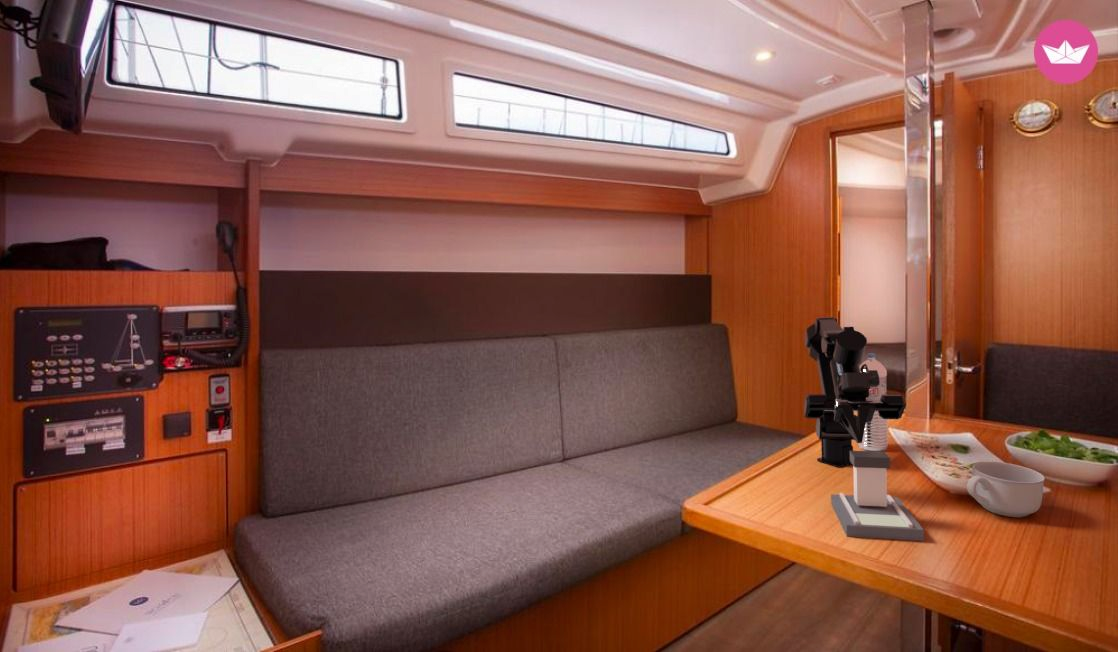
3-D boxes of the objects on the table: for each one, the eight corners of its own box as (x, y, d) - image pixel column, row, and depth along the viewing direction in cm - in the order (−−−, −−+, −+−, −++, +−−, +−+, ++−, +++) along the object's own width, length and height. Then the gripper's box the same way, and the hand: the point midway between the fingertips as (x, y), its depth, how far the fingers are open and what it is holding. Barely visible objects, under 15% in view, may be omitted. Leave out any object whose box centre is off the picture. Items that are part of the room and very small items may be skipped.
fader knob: (850, 498, 111) (849, 450, 111) (884, 499, 110) (884, 451, 109) (855, 506, 108) (854, 456, 107) (890, 507, 106) (890, 457, 105)
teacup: (1011, 498, 113) (1011, 459, 113) (1060, 521, 102) (1061, 477, 102) (942, 503, 113) (942, 463, 112) (985, 526, 102) (985, 482, 101)
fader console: (831, 504, 115) (830, 491, 115) (897, 507, 112) (897, 494, 112) (846, 536, 101) (846, 522, 101) (923, 541, 98) (923, 526, 97)
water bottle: (852, 447, 152) (850, 354, 150) (869, 443, 155) (868, 351, 153) (876, 453, 146) (874, 356, 144) (893, 449, 148) (892, 353, 147)
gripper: (804, 357, 122) (813, 420, 112) (902, 355, 117) (921, 422, 107) (800, 387, 130) (808, 448, 120) (892, 386, 125) (908, 450, 115)
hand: (859, 442), depth 115 cm, fingers closed
